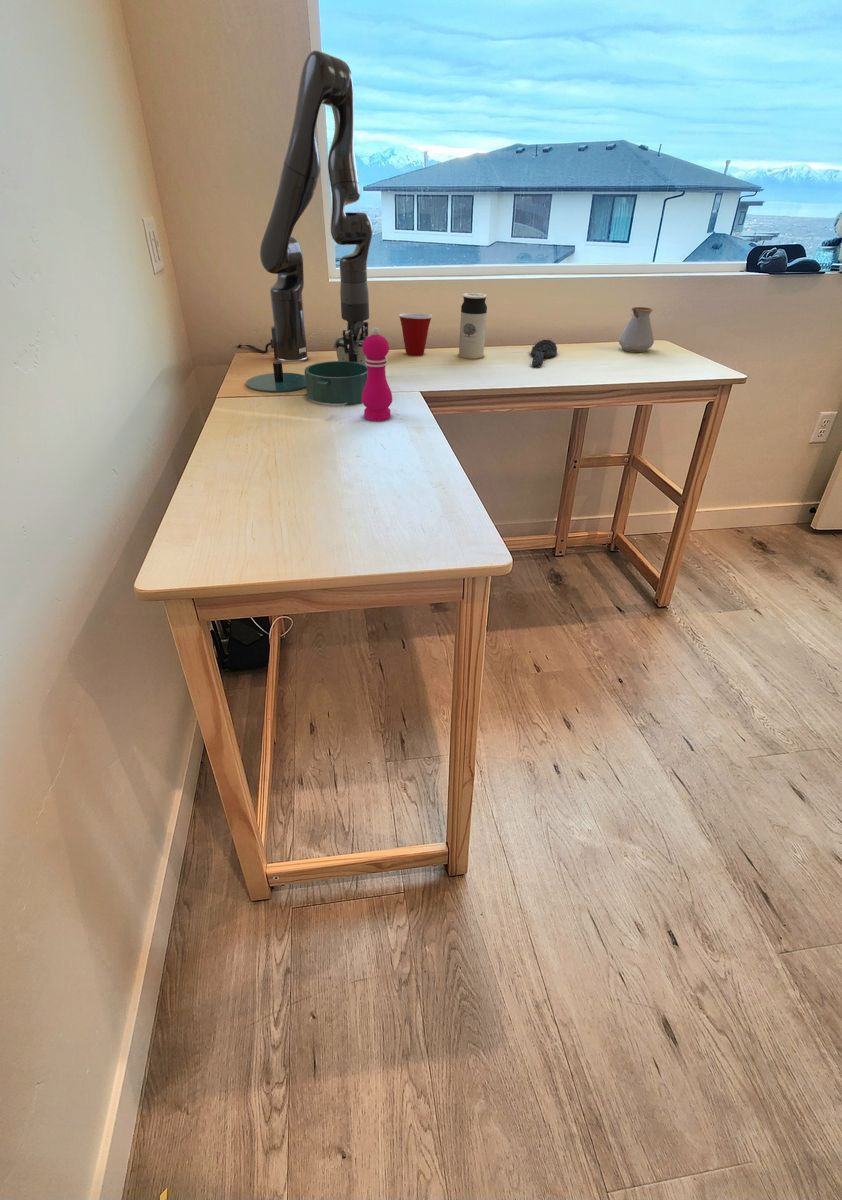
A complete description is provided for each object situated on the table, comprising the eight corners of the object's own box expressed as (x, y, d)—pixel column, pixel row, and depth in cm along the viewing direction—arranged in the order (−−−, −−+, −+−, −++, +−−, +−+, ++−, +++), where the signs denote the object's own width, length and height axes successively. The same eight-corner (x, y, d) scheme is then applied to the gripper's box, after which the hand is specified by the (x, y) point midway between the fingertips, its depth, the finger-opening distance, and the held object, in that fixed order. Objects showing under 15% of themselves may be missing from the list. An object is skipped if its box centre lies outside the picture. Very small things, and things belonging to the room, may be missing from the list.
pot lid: (234, 391, 163) (230, 368, 160) (265, 374, 177) (263, 352, 174) (295, 397, 159) (293, 374, 156) (322, 379, 173) (320, 357, 170)
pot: (291, 405, 154) (289, 377, 150) (326, 382, 172) (324, 356, 168) (354, 411, 151) (352, 383, 147) (382, 387, 168) (382, 361, 164)
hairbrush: (523, 356, 188) (535, 335, 207) (522, 369, 190) (534, 347, 209) (550, 359, 186) (560, 338, 205) (549, 371, 188) (558, 349, 207)
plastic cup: (434, 351, 204) (436, 311, 197) (427, 359, 195) (428, 318, 188) (403, 349, 206) (403, 309, 199) (394, 356, 197) (394, 315, 190)
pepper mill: (396, 414, 149) (396, 325, 138) (385, 423, 144) (384, 332, 132) (369, 411, 151) (366, 323, 140) (357, 419, 146) (353, 329, 134)
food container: (382, 371, 179) (380, 335, 173) (378, 379, 175) (377, 343, 168) (340, 369, 180) (337, 333, 174) (336, 377, 176) (333, 341, 169)
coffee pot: (621, 344, 217) (630, 297, 208) (654, 348, 212) (665, 300, 204) (606, 357, 201) (615, 307, 192) (642, 361, 197) (652, 310, 188)
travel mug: (467, 352, 203) (470, 291, 193) (488, 355, 200) (492, 294, 189) (454, 356, 198) (456, 294, 188) (475, 360, 194) (479, 297, 184)
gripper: (351, 295, 172) (353, 358, 181) (331, 303, 160) (335, 370, 170) (376, 296, 170) (378, 360, 180) (358, 305, 159) (361, 372, 168)
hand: (357, 364), depth 175 cm, fingers open, 6 cm apart
